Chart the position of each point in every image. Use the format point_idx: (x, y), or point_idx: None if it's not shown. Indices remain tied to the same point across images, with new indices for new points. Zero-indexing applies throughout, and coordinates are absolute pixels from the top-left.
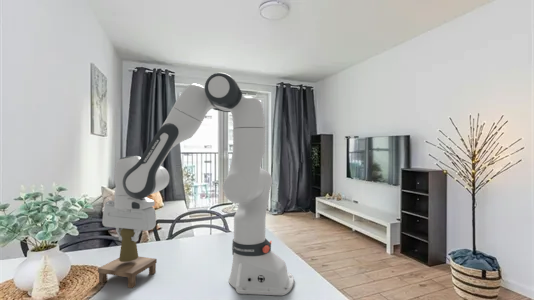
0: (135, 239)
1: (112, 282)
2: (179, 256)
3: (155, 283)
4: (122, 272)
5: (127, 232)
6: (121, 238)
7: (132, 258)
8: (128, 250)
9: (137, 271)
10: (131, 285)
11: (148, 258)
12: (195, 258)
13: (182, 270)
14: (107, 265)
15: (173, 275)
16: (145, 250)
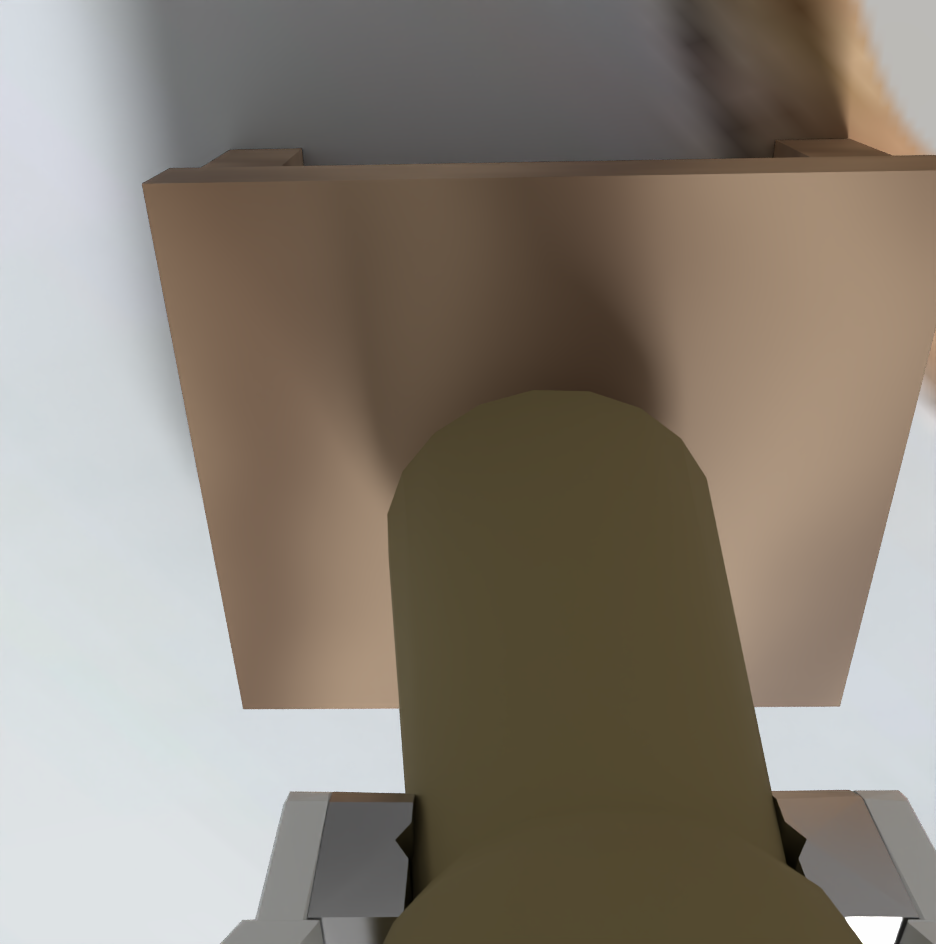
0: (278, 855)
1: None
2: None
3: (50, 356)
4: (367, 178)
5: None
6: (809, 829)
7: (401, 505)
8: (451, 568)
9: (175, 312)
10: (229, 156)
11: (369, 690)
12: (140, 913)
13: (35, 689)
14: (863, 317)
15: (25, 574)
16: None
